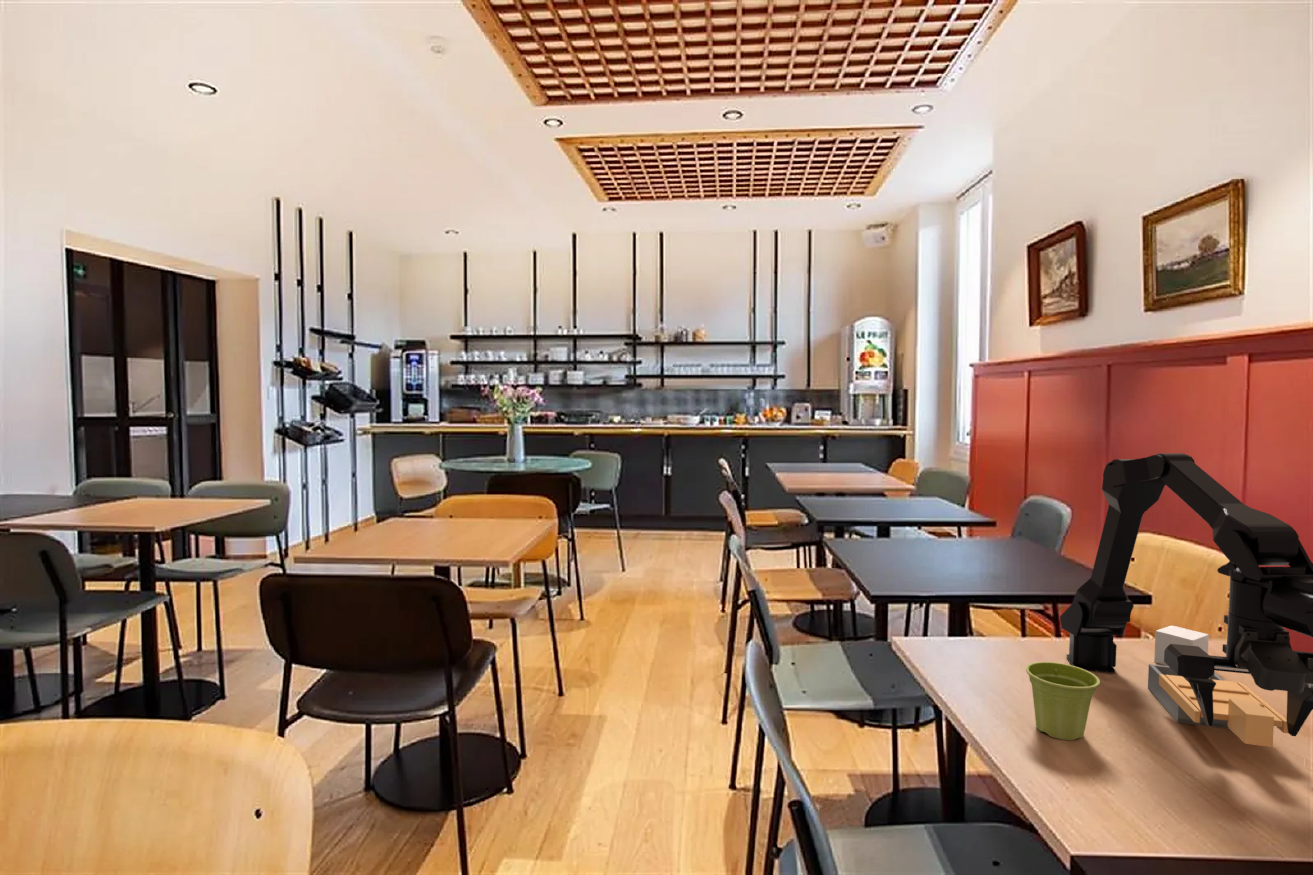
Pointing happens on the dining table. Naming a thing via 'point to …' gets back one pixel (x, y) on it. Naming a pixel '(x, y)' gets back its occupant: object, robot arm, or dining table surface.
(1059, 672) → the plant pot
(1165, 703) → the tub
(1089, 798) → the dining table surface
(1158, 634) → the white cube
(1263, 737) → the lid
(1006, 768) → the dining table surface
